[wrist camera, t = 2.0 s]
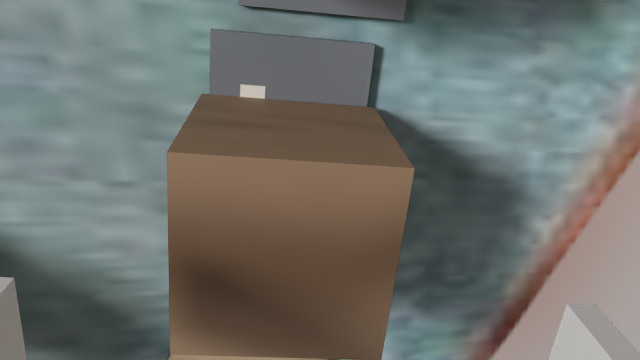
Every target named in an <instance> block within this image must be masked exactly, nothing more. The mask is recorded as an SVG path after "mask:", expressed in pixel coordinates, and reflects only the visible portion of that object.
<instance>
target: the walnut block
mask: <svg viewBox="0 0 640 360" xmlns="http://www.w3.org/2000/svg"><path fill="white" fill-rule="evenodd" d="M414 170H415V168H414V166H413V165H412V163H411V162H410V160H409V159H408V157H407V156H406V154H405V153H404V151H403V150H402V148H401V147H400V145H399V144H398V142H397V141H396V139H395V138H394V136H393V135H392V133H391V132H390V130H389V129H388V127H387V126H386V124H385V123H384V121H383V120H382V118H381V117H380V115H379V114H378V112H377V111H376V109H375V107H366V106H353V105H341V104H328V103H315V102H302V101H289V100H276V99H263V98H250V97H237V96H224V95H211V94H202V95H201V96H200V98H199V100H198V101H197V103H196V105H195V106H194V108H193V110H192V111H191V113H190V115H189V116H188V118H187V120H186V121H185V123H184V125H183V126H182V128H181V130H180V131H179V133H178V135H177V136H176V138H175V140H174V141H173V143H172V145H171V146H170V148H169V150H168V151H167V184H168V250H169V315H170V355H199V356H237V357H275V358H313V359H351V360H381V358H382V352H383V346H384V341H385V335H386V329H387V324H388V318H389V312H390V307H391V301H392V295H393V290H394V284H395V278H396V273H397V267H398V261H399V256H400V250H401V244H402V239H403V233H404V227H405V222H406V216H407V210H408V205H409V199H410V193H411V188H412V182H413V176H414Z"/></svg>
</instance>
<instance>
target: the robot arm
mask: <svg viewBox="0 0 640 360" xmlns="http://www.w3.org/2000/svg"><path fill="white" fill-rule="evenodd" d="M0 360H27V359H26V352H25V346H24V339H23V333H22V326H21V320H20V313H19V307H18V300H17V293H16V287H15V280H14V278H8V277H0ZM548 360H640V354H639V353H638V352H637V350H636V349H635V348H634V347H633V346H632V345H631V344H630V343H629V342H628V340H627V339H626V338H625V337H624V336H623V335H622V334H621V333H620V331H619V330H618V329H617V328H616V327H615V326H614V325H613V324H612V322H611V321H610V320H609V319H608V318H607V317H606V316H605V315H604V314H603V312H602V311H601V310H600V309H599V308H598V307H597V306H596V305H584V304H567V305H566V308H565V311H564V314H563V317H562V320H561V323H560V326H559V329H558V332H557V335H556V338H555V340H554V344H553V346H552V350H551V353H550V355H549V358H548Z"/></svg>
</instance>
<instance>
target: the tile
mask: <svg viewBox="0 0 640 360" xmlns="http://www.w3.org/2000/svg"><path fill="white" fill-rule="evenodd" d="M374 50H375V44H374V43H365V42H354V41H343V40H332V39H321V38H310V37H299V36H288V35H276V34H265V33H254V32H243V31H232V30H221V29H211V44H210V94H211V95H224V96H237V97H250V98H263V99H276V100H289V101H302V102H315V103H328V104H341V105H353V106H366V107H367V103H368V95H369V88H370V80H371V73H372V65H373V58H374Z"/></svg>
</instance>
